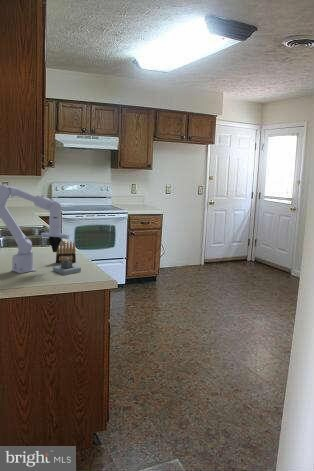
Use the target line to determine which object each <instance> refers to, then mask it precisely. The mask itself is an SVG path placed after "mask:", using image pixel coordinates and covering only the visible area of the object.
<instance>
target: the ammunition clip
mask: <svg viewBox="0 0 314 471" xmlns="http://www.w3.org/2000/svg"><path fill="white" fill-rule="evenodd" d="M55 255H56V256H55V263H56V264H61V262H63V261H64V258H65V257H68V258H69V261H72V264H73V263H77V262H76V261H77V257H76V256H77V255H76V243H75V241H73V242H72V241H70V243H69V241H63V242H62V241H61V242H60V244H59V246H58V250H57V252H55Z"/></svg>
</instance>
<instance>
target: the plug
mask: <svg viewBox="0 0 314 471" xmlns="http://www.w3.org/2000/svg"><path fill="white" fill-rule="evenodd" d="M72 265H73V263H72V261H69V258H68V257H65V258H64V261H63V262H61V263H60V266H61V268H63V269H70V268H72Z"/></svg>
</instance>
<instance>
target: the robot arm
mask: <svg viewBox="0 0 314 471" xmlns="http://www.w3.org/2000/svg"><path fill="white" fill-rule="evenodd" d="M10 197H11V198H12V197H13V198H15V197H18V198H21V199H24V200H27V201H29V202H31V203H33V204H34V206H36V207H38V208H40V209H43V210H46V211H49V219H48V224H49V225H48V227H49V229H48V230H49V231H48V232H41V234H40V235H41V237H42V238H48V239H47V240H48V242H49V244H50V246H51V249H52V253H56V252H57V250H58V246H59V247H60V243H61V242H62V240H63V239H64V240H69V239H70V234H66V233H65V234H64V233H62V213H61V212H62V204H61V203H60V202H59V201H57V200H54V199H53V198H48V197H45V195H44V194H38V195H34V194H32V193H29V192H28V191H25V190H22V189H20V188H19V187H15V186H12V185H8V184H0V218H1V220H2V221H3V223H4V224H5V226H6V227H7V229H8V231H9V232H10V234H11V235H12V237H13V239H14V241H15V243H16V245H17V250H18V251H17V253H15V254H14V255H12V259H11V261H12V262H11V263H12V264H11V265H12V266H11V267H12V268H11V271H13V272H16V273H17V274H24V273H29V272H36V271H37V269H36V268H34V253H33V251H32V247H33V242H32V240H31V239H29V238H28V237H27V236H26V235H25V233H23V231H22V230H21V227H20V226H19V225H18V223H17V222H16V220H15V219H14V217H13V216H12V214H11V212H10V211H9V209H8V207H7V206H6V205H7V202H8V198H10Z"/></svg>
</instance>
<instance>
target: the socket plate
mask: <svg viewBox="0 0 314 471" xmlns="http://www.w3.org/2000/svg"><path fill="white" fill-rule="evenodd" d="M52 271H53V272H55V273H59V274H61V275H64V276H65V275H71V274H77V273H81V271H82V267H80V266H76V265H73V264H72V268H70V269H63V268H61V265H56V266H55V265H54V266H52Z"/></svg>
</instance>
